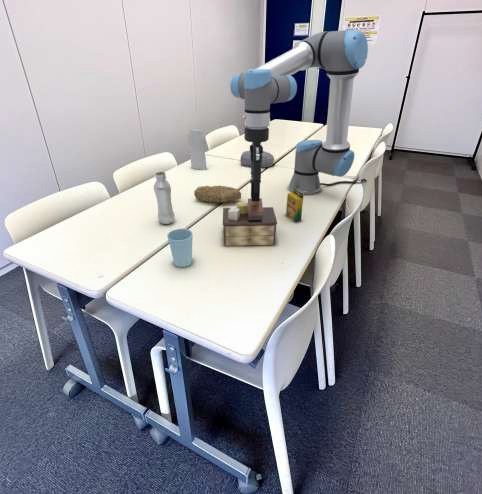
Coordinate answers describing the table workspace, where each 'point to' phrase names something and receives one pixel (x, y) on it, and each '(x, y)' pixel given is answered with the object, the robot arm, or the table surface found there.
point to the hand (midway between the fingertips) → (255, 198)
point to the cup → (181, 246)
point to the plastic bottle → (163, 199)
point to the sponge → (217, 194)
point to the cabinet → (250, 229)
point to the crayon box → (294, 205)
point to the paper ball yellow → (242, 207)
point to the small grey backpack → (266, 159)
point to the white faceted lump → (233, 214)
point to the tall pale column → (197, 149)
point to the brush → (255, 209)
